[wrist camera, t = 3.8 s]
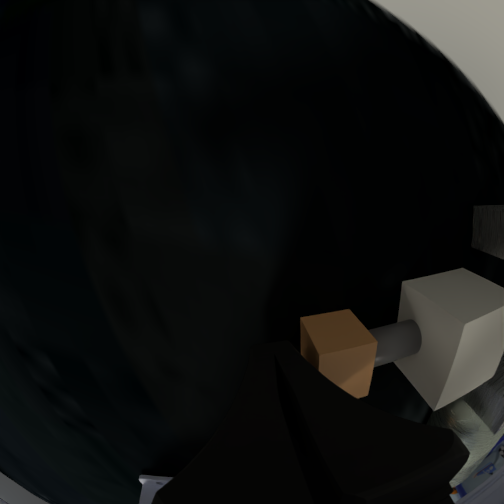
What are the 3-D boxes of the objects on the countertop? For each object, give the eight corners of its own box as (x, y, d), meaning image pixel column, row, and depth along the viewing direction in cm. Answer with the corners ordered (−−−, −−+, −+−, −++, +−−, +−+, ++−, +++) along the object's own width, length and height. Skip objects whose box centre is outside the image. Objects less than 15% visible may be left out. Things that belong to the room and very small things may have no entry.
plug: (301, 380, 11) (326, 450, 7) (299, 299, 10) (337, 364, 6) (448, 337, 11) (493, 376, 8) (462, 267, 10) (520, 296, 6)
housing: (397, 448, 14) (428, 503, 8) (456, 206, 9) (561, 233, 4) (454, 420, 14) (487, 463, 9) (512, 204, 10) (588, 224, 4)
